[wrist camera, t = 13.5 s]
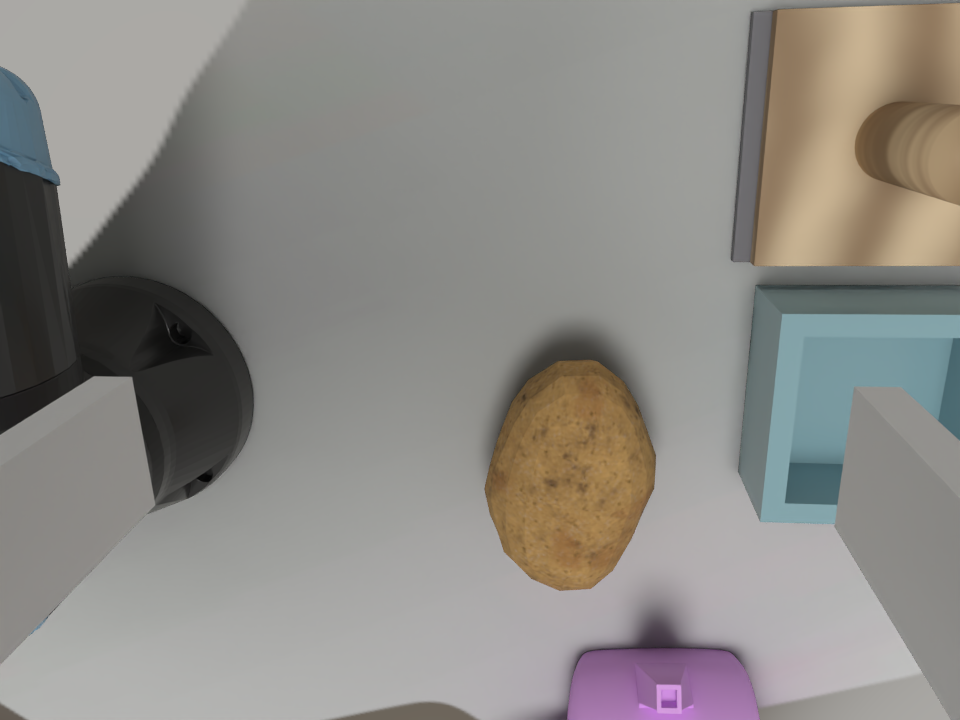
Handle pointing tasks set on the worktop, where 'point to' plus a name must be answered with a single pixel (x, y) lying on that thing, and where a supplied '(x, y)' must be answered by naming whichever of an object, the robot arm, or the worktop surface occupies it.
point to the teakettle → (661, 686)
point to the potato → (570, 474)
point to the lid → (861, 138)
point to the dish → (836, 382)
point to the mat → (751, 134)
